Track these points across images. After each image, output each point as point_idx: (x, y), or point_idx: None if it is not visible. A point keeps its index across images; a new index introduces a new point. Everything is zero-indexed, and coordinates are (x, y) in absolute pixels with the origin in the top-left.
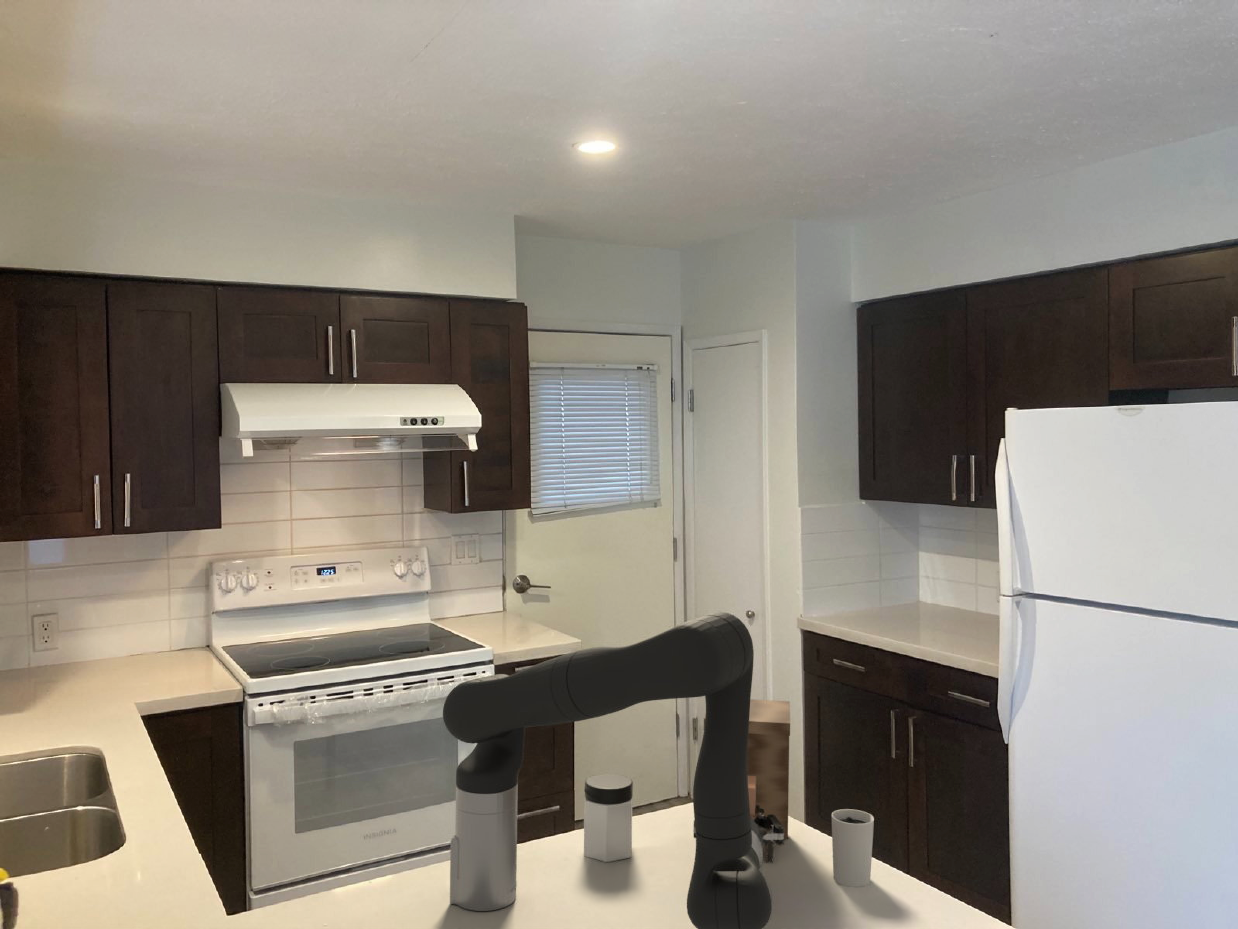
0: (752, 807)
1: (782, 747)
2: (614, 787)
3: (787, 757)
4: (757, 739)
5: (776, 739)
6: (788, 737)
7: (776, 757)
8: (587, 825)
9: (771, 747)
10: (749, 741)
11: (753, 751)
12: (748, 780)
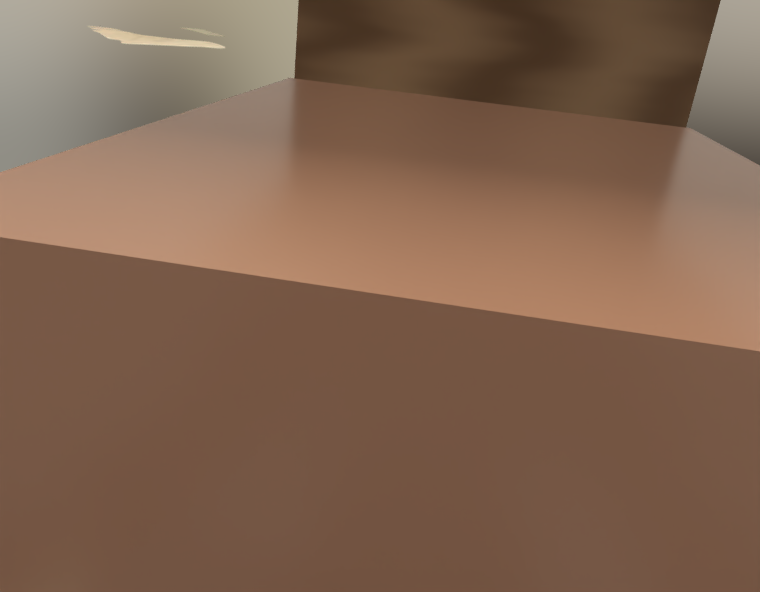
0: None
1: (666, 68)
2: None
3: (679, 122)
4: (543, 17)
5: (644, 23)
6: (712, 14)
7: (622, 119)
8: None
9: (608, 65)
10: (499, 27)
11: (512, 81)
12: (631, 153)
